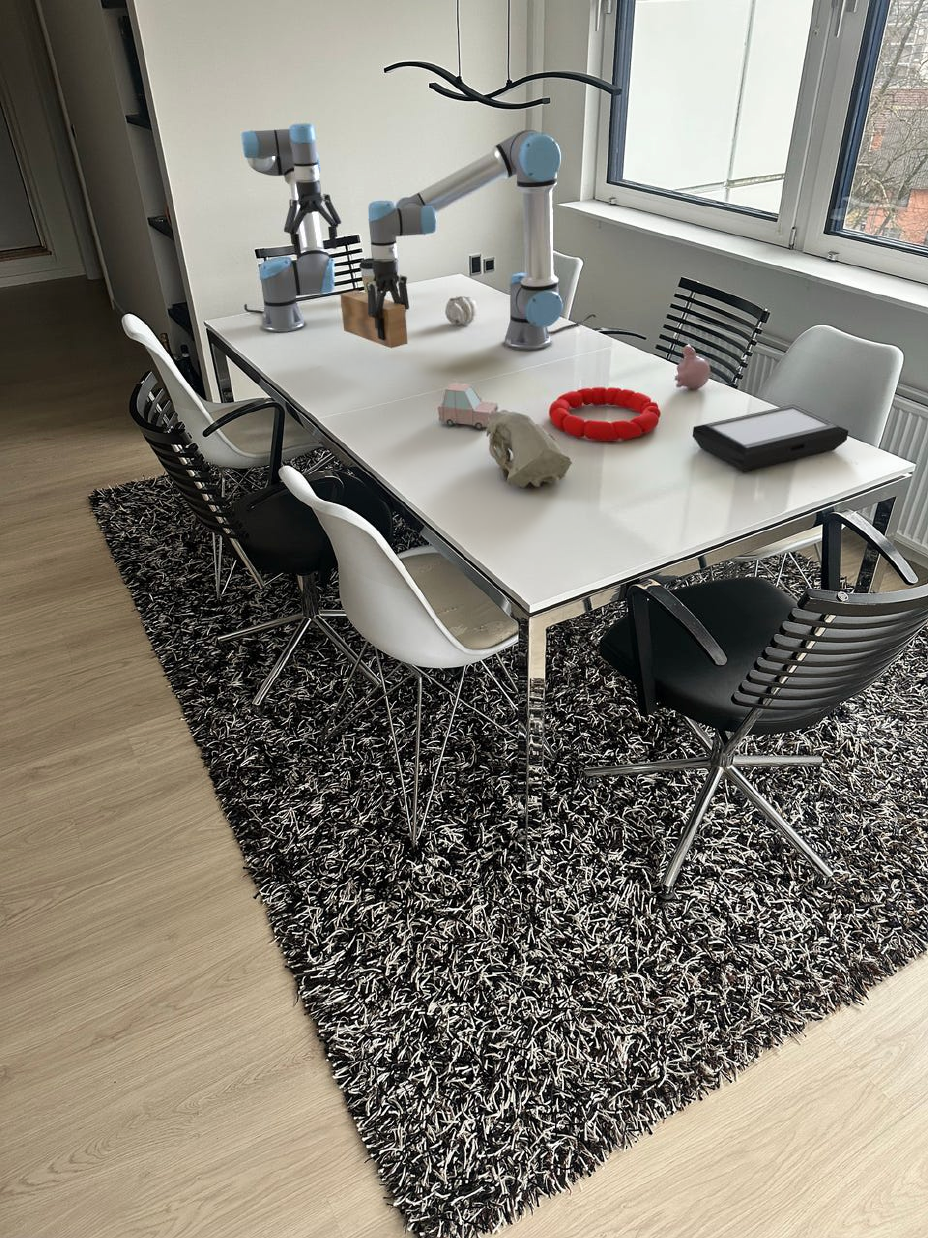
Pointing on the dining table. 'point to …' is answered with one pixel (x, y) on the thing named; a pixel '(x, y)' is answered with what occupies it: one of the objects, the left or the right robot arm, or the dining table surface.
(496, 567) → the dining table surface
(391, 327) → the box
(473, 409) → the toy car
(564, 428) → the decorative ring
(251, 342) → the dining table surface
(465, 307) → the seashell
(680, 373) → the figurine
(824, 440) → the electronic device
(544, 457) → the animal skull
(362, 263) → the coffee cup
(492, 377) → the dining table surface
